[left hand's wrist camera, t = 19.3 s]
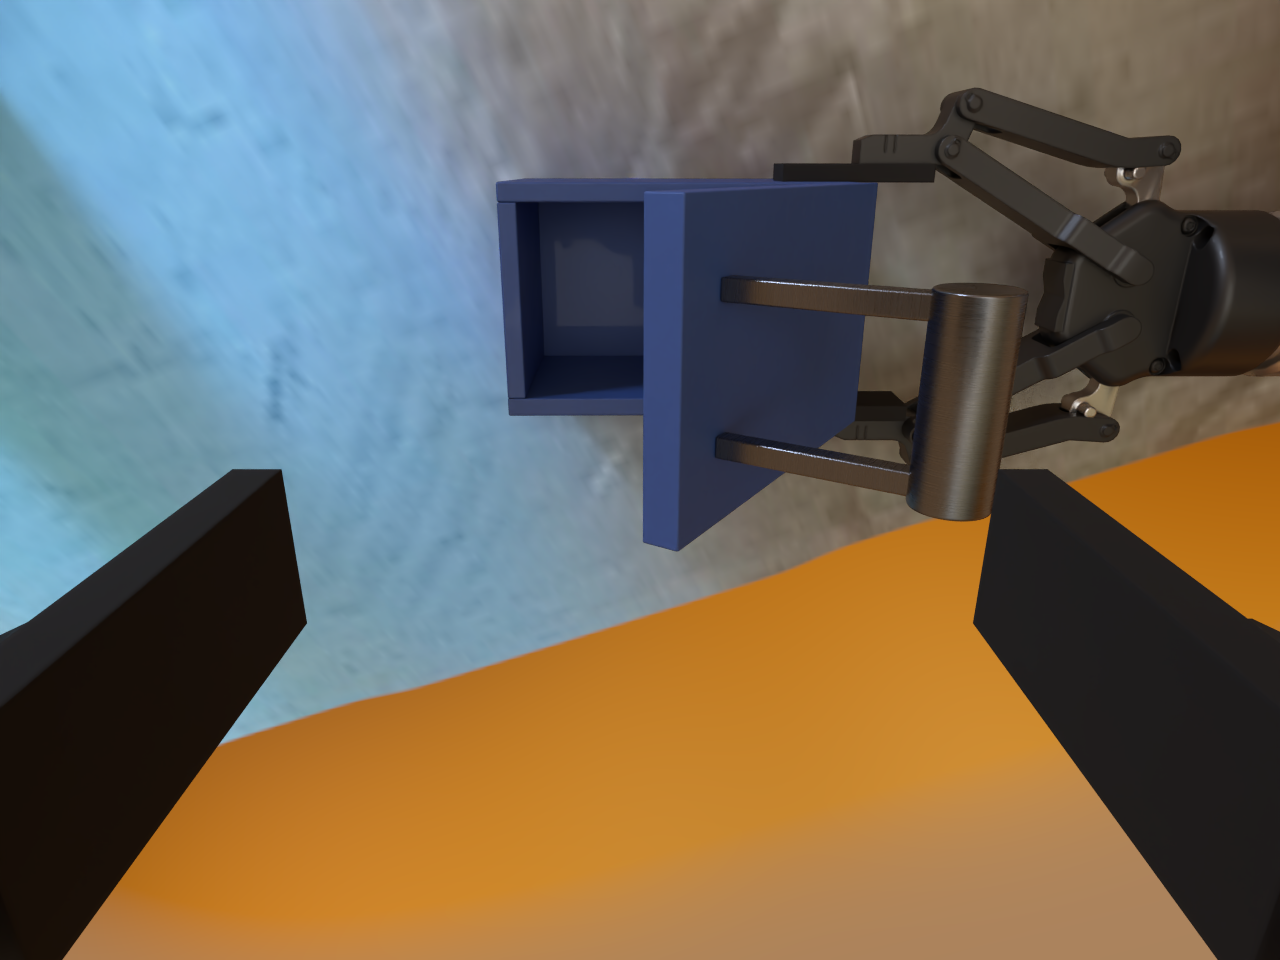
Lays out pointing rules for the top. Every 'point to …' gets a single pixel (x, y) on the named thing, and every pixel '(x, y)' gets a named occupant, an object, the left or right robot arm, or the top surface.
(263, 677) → the left robot arm
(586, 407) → the chest
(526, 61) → the top surface
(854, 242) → the lid
